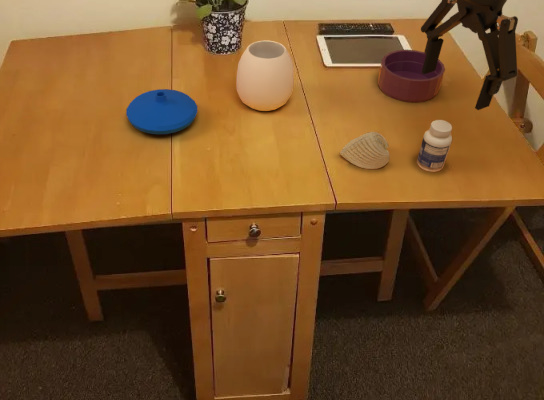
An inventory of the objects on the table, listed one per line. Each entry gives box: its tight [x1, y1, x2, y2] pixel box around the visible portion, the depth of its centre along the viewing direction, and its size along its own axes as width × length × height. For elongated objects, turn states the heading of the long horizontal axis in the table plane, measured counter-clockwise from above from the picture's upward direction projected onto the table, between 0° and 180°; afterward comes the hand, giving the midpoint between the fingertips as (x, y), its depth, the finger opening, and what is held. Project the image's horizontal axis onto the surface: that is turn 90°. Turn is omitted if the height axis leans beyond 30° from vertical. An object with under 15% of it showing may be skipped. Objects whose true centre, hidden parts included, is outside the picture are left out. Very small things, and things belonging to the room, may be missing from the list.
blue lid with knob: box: [125, 88, 198, 135], centre depth 128 cm, size 16×16×7 cm
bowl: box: [377, 49, 446, 103], centre depth 139 cm, size 14×14×6 cm
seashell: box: [339, 131, 391, 170], centre depth 119 cm, size 8×8×8 cm
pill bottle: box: [416, 119, 453, 173], centre depth 116 cm, size 5×5×10 cm
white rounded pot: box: [235, 39, 295, 112], centre depth 132 cm, size 13×13×14 cm
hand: (453, 88), depth 107 cm, fingers open, 13 cm apart
